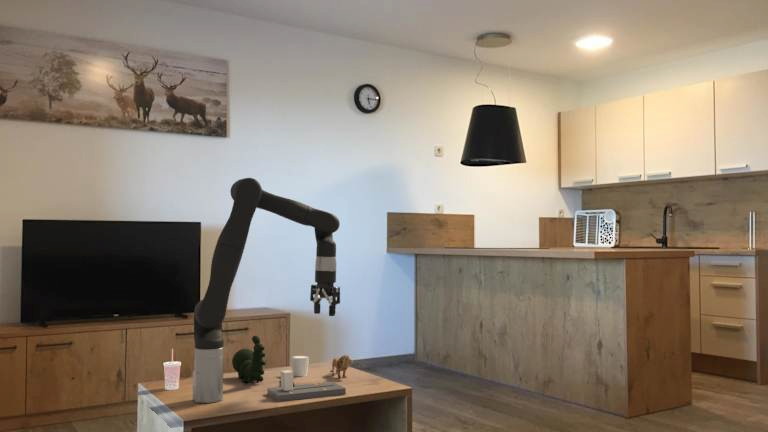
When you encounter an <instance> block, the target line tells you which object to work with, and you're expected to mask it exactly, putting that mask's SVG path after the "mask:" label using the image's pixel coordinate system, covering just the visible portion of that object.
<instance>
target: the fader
mask: <svg viewBox="0 0 768 432" xmlns="http://www.w3.org/2000/svg"><path fill="white" fill-rule="evenodd" d="M293 385H294V376H293V370H291V369H287V370H280V387H281V389H282V390H284V391H289V390H293Z"/></svg>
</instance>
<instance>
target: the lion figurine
mask: <svg viewBox="0 0 768 432" xmlns="http://www.w3.org/2000/svg"><path fill="white" fill-rule="evenodd" d="M353 363H354V360H353V359H351V358H350V355H347V354H345V355H342V356H341V357H335V358H333V359H332V364H331V366H332V369H331V370H329V372H330V373H331V376H335V374H336V375H337V379H338V380H339V379H340V378H341V379H342V378H344V379H346V378H347V376H346V372H347V370H348V368H349V367H350V366H352V365H353ZM341 372H342V377H341ZM341 379H340V380H341Z"/></svg>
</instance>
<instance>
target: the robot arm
mask: <svg viewBox="0 0 768 432" xmlns="http://www.w3.org/2000/svg"><path fill="white" fill-rule="evenodd" d="M230 196H231V199H232V200H233V203H232V206H231V211H230V214H229V217H228V219H227V221H226V223H225V225H224V226H223V228H222V230H221V232H220V234H219V236H218V239H217V242H216V244H215V247H214V251H213V254H212V258H211V264H210V273H209V281H208V286H207V288H206V292H205V294H204V296H203V299H201V300H199V301H198V302H197V303H196V305H195V307H194V312H193V339H194V370H192V400H193V401H194V402H195V403H196V404H200V403H201V404H202V403H203V404H209V403H217V402H221V401H222V400H223V399H224V340H225V339H224V336H223V321H224V320H225V318H226V314H227V309H228V302H229V297H230V292H231V289H232V286H233V283H234V281H235V278H236V275H237V273H238V270H239V267H240V264H241V260H242V257H243V253H244V250H245V248H246V244H247V239H248V236H249V231H250V226H251V224H252V220H253V218H254V214H255V212H256V210H257V209H259V210H264V211H267V212H270V213H272V214H276V216H279V217H282V218H284V219H287V220H289V221H292V222H294V223H297V224H300V225H302V226H307V227H313V228H314V235H315V241H316V251H315V252H316V257H315V262H314V263H315V266H314V267H315V270H314V282H315V283H317V284H311V285H310V297H309V298H310V299H309V300H310V301H311V302H312V303H313V313H314V315H317V314H318V315H319V314H321V302H322V299H325V300H326V301H328V304H329V306H328V316H329V317H335V316H336V307H337V305H339V304H341V286H334V285H335V283H336V282H337V245H336V244H337V243H336V242H335V241H334V238H333V237H334V236H333V233H335V232H337V231H338V230H339V228H340V225H341V224H340V220H339V218H338V217H337V216H336V215H335V214H333V213H330V212H328V211H324V210H321V209H317V208H314V207H312V206H309V205H307V204H306V203H303V202H300V201H297V200H294V199H290V198H287V197H283V196H279V195H276V194H273V193H270V192H268V191H266V190H263V188H262V185H261V183H260V182H259V180H257V179H255V178H252V177H245V178H241V179H238V180H237V181H235V182H234V183H232V185H231V187H230Z"/></svg>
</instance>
